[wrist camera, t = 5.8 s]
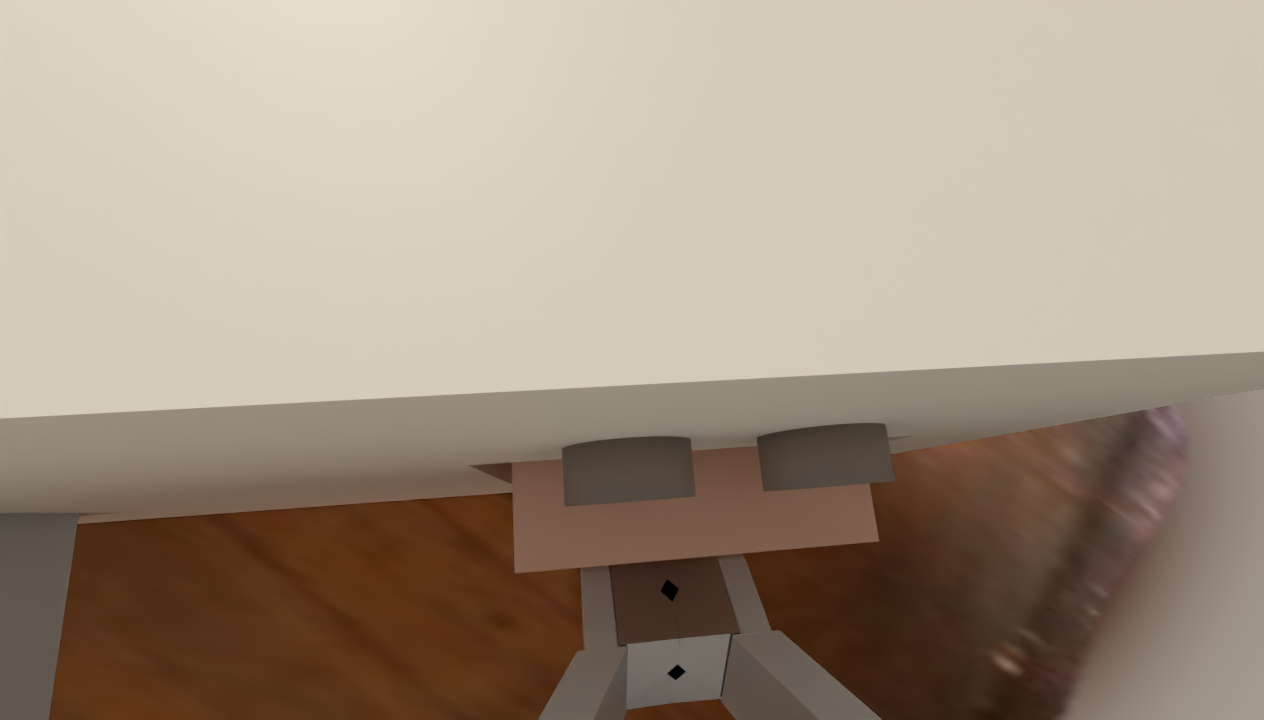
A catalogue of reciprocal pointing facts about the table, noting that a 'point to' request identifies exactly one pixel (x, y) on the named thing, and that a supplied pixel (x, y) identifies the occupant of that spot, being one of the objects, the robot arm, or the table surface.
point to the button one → (32, 608)
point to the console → (604, 239)
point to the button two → (682, 517)
